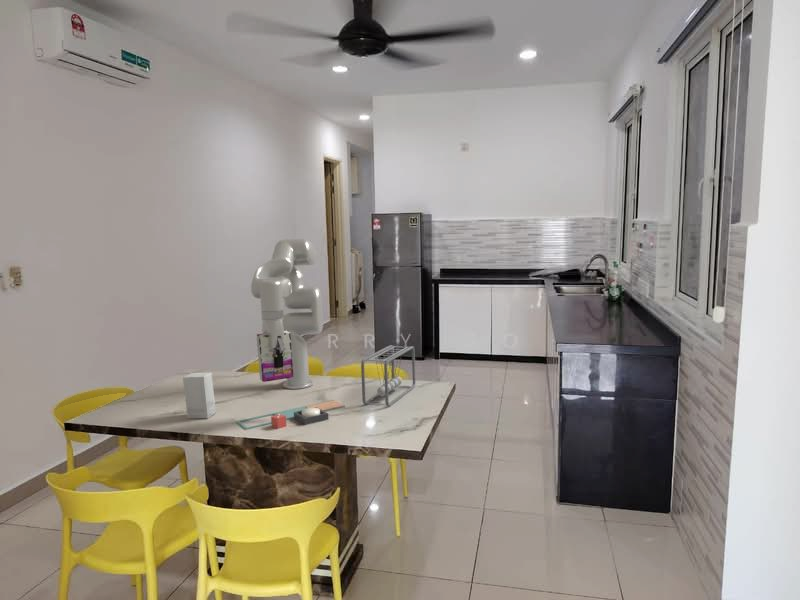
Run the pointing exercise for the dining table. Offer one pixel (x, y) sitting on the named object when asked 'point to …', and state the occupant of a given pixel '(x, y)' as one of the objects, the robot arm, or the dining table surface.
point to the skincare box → (199, 395)
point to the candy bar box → (268, 356)
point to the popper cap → (310, 412)
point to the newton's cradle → (395, 380)
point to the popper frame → (312, 419)
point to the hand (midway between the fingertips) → (275, 365)
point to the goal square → (326, 405)
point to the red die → (278, 421)
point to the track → (287, 413)
